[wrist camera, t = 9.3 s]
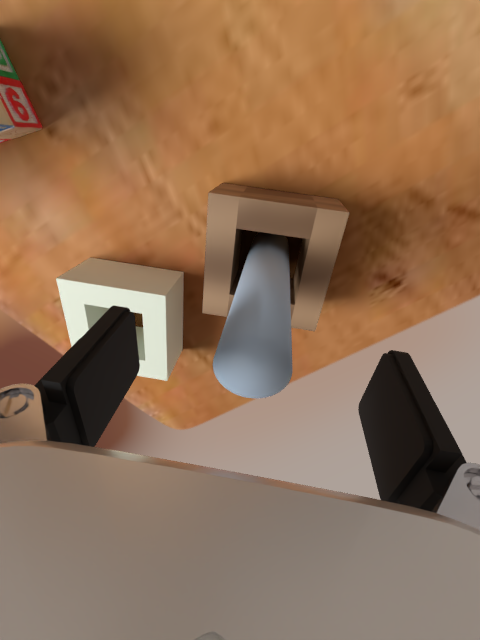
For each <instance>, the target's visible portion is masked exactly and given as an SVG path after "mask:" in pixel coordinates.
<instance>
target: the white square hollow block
mask: <svg viewBox="0 0 480 640" xmlns="http://www.w3.org/2000/svg"><path fill="white" fill-rule="evenodd" d="M56 280H57V284H58V289H59V293H60V298H61V302H62V306H63V311H64V315H65V320H66V324H67V329H68V333H69V337H70V342H71V346H73V345H74V344H75V343H76V342H77V341H78V340H79V339H80V338H81V337H82V336H83V335H84V334H85V333H86V332H87V331H88V330H89V329H90V328H91V327H92V326H93V325H94V324H95V323H96V322H97V321H98V320H99V319H100V318H101V317H102V316H103V315H104V314H105V312H106V311H107V310H108V309H109V308H110V307H111V306H120V307H127V308H129V309H130V312H135V313H141V314H142V317H143V327H137V326H136V335H137V344H138V354H139V363H140V368H139V372H138V374H137V376H143V377H148V378H154V379H160V380H165V381H167V380H168V378H169V376H170V374H171V372H172V370H173V368H174V366H175V364H176V362H177V360H178V358H179V356H180V354H181V352H182V350H183V290H184V272H180V271H174V270H167V269H161V268H155V267H148V266H142V265H135V264H129V263H123V262H116V261H110V260H103V259H97V258H91V257H90V258H89V259H87V260H85V261H84V262H82V263H81V264H79V265H77V266H76V267H74V268H72V269H71V270H69V271H67V272H66V273H64V274H62V275H61V276H59V277H57V278H56Z"/></svg>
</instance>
